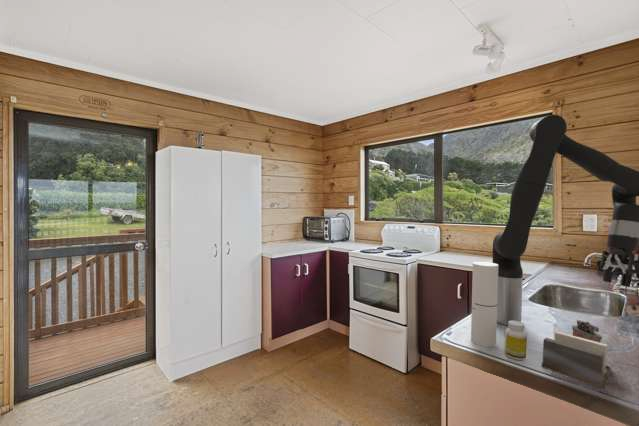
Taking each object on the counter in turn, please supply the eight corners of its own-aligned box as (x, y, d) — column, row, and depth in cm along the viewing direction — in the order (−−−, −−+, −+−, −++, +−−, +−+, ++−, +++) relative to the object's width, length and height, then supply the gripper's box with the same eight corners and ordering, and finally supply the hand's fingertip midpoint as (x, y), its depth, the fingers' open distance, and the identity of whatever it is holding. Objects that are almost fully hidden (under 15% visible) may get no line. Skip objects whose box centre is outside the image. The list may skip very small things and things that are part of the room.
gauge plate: (555, 351, 93) (556, 331, 92) (609, 368, 84) (610, 345, 83) (554, 353, 92) (555, 332, 91) (608, 369, 83) (609, 347, 82)
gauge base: (554, 353, 94) (555, 328, 94) (610, 371, 85) (611, 343, 84) (541, 366, 87) (542, 339, 87) (601, 387, 77) (602, 357, 77)
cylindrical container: (486, 348, 97) (488, 267, 96) (466, 339, 104) (467, 262, 102) (501, 343, 101) (503, 264, 99) (480, 335, 107) (482, 260, 106)
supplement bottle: (529, 361, 90) (530, 327, 89) (508, 359, 91) (509, 325, 90) (521, 352, 95) (522, 320, 94) (501, 350, 96) (502, 318, 95)
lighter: (567, 350, 96) (569, 317, 96) (578, 349, 97) (579, 317, 96) (592, 363, 88) (594, 328, 88) (604, 363, 89) (605, 327, 88)
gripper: (596, 233, 113) (589, 278, 113) (626, 233, 99) (617, 285, 99) (621, 237, 112) (613, 283, 111) (654, 238, 98) (646, 290, 98)
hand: (615, 284), depth 105 cm, fingers open, 8 cm apart
